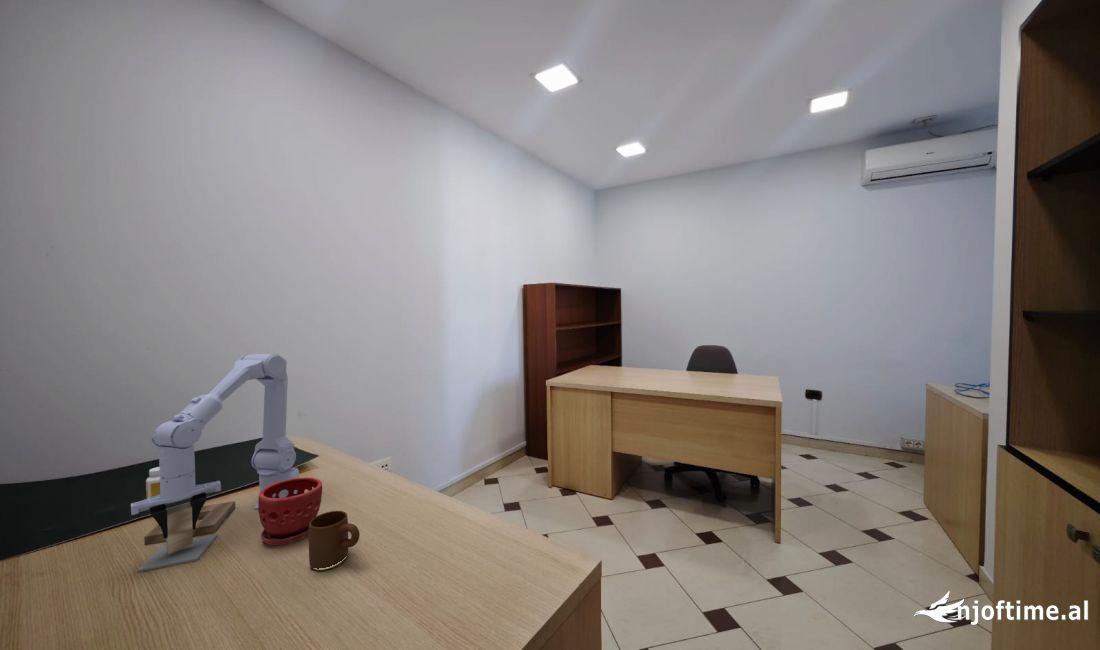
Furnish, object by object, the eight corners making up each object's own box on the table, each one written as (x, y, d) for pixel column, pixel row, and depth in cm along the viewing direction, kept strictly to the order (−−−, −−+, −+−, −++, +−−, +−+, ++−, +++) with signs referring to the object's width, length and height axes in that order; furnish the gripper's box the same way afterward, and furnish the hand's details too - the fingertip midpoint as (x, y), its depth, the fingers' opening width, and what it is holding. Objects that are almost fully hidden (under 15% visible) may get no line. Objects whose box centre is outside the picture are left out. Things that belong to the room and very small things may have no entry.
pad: (217, 536, 93) (217, 534, 93) (197, 560, 84) (197, 558, 84) (164, 546, 89) (164, 544, 89) (137, 572, 80) (137, 570, 80)
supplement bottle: (177, 496, 114) (176, 465, 114) (157, 505, 109) (156, 472, 108) (162, 496, 114) (161, 464, 114) (141, 504, 109) (140, 471, 109)
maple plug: (190, 539, 89) (189, 502, 89) (193, 545, 87) (191, 507, 87) (166, 547, 86) (165, 508, 86) (168, 554, 84) (167, 514, 83)
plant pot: (285, 554, 86) (284, 502, 85) (245, 543, 90) (244, 494, 89) (334, 524, 98) (333, 479, 98) (298, 516, 102) (297, 472, 102)
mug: (372, 557, 84) (371, 515, 84) (344, 579, 77) (343, 534, 77) (330, 547, 88) (329, 507, 88) (300, 568, 81) (299, 525, 81)
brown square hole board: (235, 508, 107) (235, 501, 107) (214, 532, 95) (214, 524, 95) (174, 517, 102) (174, 510, 102) (144, 545, 90) (144, 536, 90)
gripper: (216, 459, 94) (217, 513, 94) (129, 479, 83) (131, 540, 83) (222, 466, 90) (223, 523, 90) (131, 488, 78) (133, 552, 79)
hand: (179, 532), depth 86 cm, fingers closed on maple plug, 4 cm apart
